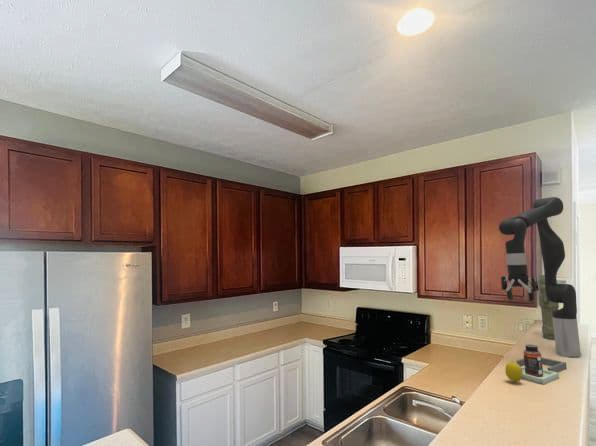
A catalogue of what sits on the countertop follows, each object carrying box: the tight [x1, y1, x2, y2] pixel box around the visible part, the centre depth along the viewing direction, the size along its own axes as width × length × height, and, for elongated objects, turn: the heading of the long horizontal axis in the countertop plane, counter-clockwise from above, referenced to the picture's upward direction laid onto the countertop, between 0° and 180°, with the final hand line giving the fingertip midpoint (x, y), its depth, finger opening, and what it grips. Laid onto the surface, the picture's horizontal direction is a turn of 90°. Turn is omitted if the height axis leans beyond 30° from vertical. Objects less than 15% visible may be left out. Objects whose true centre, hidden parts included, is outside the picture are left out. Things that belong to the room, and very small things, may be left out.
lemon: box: [504, 360, 523, 384], centre depth 131 cm, size 6×6×8 cm
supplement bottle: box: [523, 343, 544, 377], centre depth 136 cm, size 6×6×11 cm
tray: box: [521, 365, 560, 386], centre depth 135 cm, size 12×12×2 cm
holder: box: [516, 357, 567, 373], centre depth 146 cm, size 13×13×2 cm
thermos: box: [538, 274, 560, 341], centre depth 194 cm, size 9×12×35 cm
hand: (520, 300), depth 151 cm, fingers open, 8 cm apart
